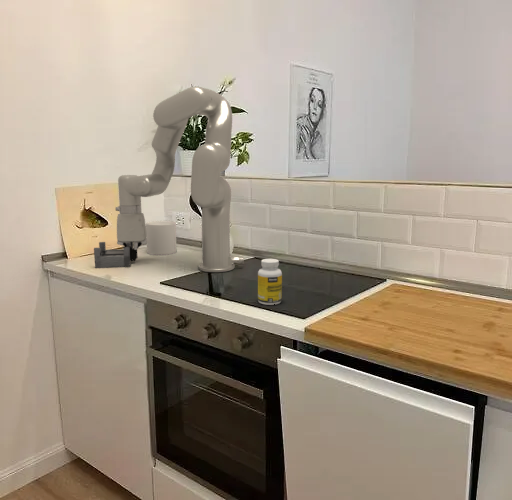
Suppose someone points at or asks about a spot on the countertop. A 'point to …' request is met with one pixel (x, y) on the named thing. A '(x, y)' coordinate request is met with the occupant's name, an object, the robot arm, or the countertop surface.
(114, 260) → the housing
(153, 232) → the cup
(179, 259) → the countertop surface
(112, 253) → the plug
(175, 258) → the countertop surface
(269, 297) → the pill bottle
